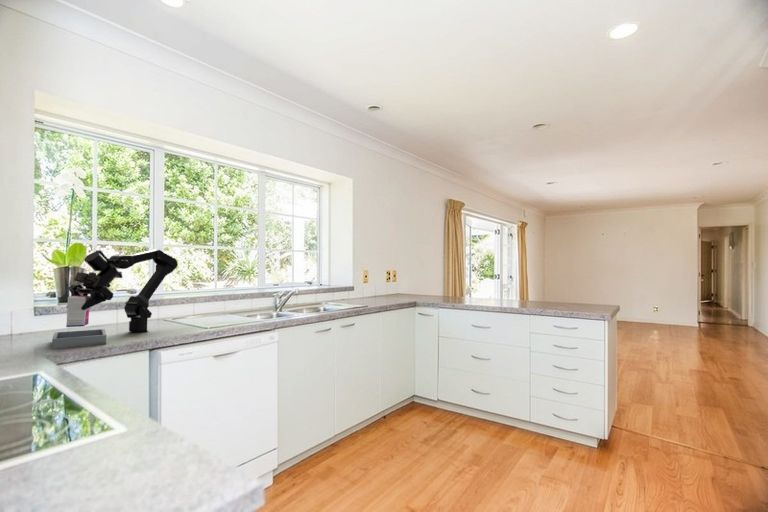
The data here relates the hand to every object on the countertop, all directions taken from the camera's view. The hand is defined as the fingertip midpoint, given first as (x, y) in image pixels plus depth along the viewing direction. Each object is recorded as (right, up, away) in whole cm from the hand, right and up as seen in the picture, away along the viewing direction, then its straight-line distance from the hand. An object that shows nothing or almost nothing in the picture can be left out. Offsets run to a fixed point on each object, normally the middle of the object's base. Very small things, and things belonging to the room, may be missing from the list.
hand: (74, 308), depth 153 cm
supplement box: (0, -7, +1) cm, 7 cm away
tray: (+1, -13, +1) cm, 13 cm away
